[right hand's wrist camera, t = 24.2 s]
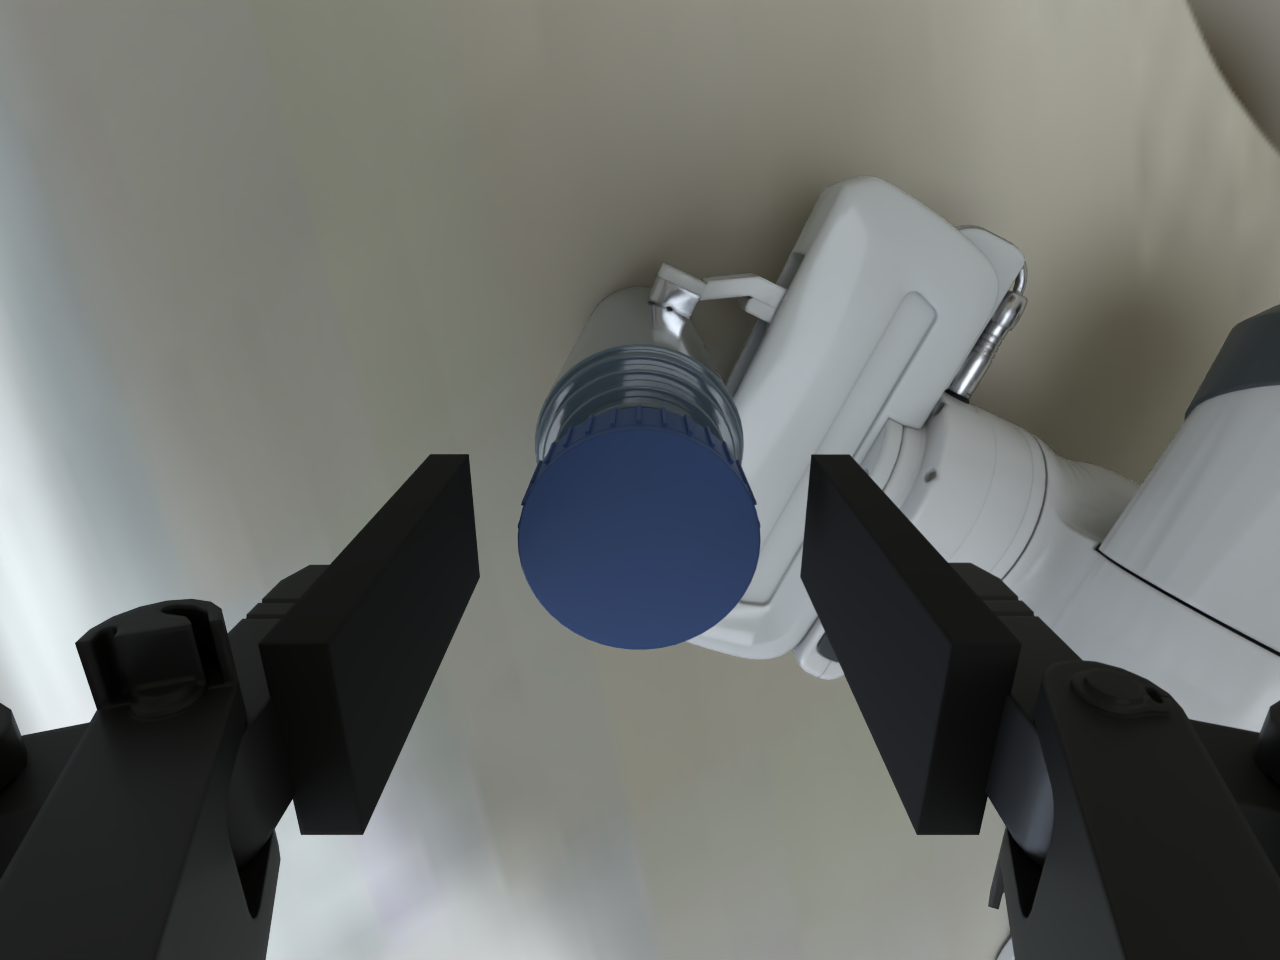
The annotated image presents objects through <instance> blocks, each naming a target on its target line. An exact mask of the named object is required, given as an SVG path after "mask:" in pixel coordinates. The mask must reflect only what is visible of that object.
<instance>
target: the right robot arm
mask: <svg viewBox="0 0 1280 960" xmlns="http://www.w3.org/2000/svg"><path fill="white" fill-rule="evenodd" d="M479 578H480V573H479V562H478V551H477V540H476V529H475V518H474V507H473V496H472V485H471V474H470V463H469V454H430V455H429V456H428V458H427V459H426V460H425V461H424V462H423V463H422V464H421V465H420V466H419V467H418V469H417V470H416V471H415V472H414V473H413V474H412V475H411V476H410V477H409V478H408V480H407V481H406V482H405V483H404V484H403V485H402V486H401V487H400V488H399V489H398V491H397V492H396V493H395V494H394V495H393V496H392V497H391V498H390V499H389V500H388V502H387V503H386V504H385V505H384V506H383V507H382V508H381V509H380V510H379V511H378V513H377V514H376V515H375V516H374V517H373V518H372V519H371V520H370V521H369V522H368V524H367V525H366V526H365V527H364V528H363V529H362V530H361V531H360V532H359V533H358V535H357V536H356V537H355V538H354V539H353V540H352V541H351V542H350V543H349V544H348V546H347V547H346V548H345V549H344V550H343V551H342V552H341V553H340V554H339V555H338V557H337V558H336V559H335V560H334V561H333V562H332V563H331V564H330V565H309V566H307V567H305V568H303V569H301V570H300V571H298V572H296V573H294V574H292V575H290V576H289V577H287V578H285V579H283V580H281V581H280V582H279V583H278V584H277V585H276V586H275V587H274V588H273V589H272V590H271V591H270V592H269V593H268V594H267V595H266V596H265V597H264V598H263V599H262V603H258V604H257V605H256V606H255V607H254V608H253V609H252V610H251V611H250V612H249V613H248V614H247V617H246V619H242V620H241V621H240V622H239V623H238V624H237V625H236V626H235V627H234V628H233V629H232V630H231V631H230V632H229V633H228V634H227V630H226V626H225V622H224V617H223V613H222V609H221V608H219V607H218V606H216V605H215V604H213V603H212V602H209V601H203V600H196V599H184V600H169V601H164V602H159V603H155V604H150V605H146V606H141V607H138V608H135V609H132V610H130V611H127V612H124V613H122V614H119V615H116V616H113V617H111V618H110V619H108V620H106V621H104V622H102V623H101V624H99V625H97V626H95V627H93V628H92V629H90V630H89V631H88V632H87V633H85V634H84V635H83V636H82V637H81V638H80V639H79V640H78V641H77V642H76V643H75V645H76V648H77V651H78V654H79V657H80V660H81V663H82V666H83V669H84V672H85V675H86V678H87V681H88V684H89V687H90V690H91V693H92V696H93V699H94V702H95V705H96V708H97V711H96V713H95V715H94V716H93V718H92V720H91V722H89V723H85V724H80V725H74V726H69V727H64V728H59V729H54V730H49V731H44V732H38V733H33V734H28V735H23V736H21V734H20V731H19V729H18V726H17V724H16V721H15V718H14V716H13V713H12V711H11V709H9V708H8V707H6V706H4V705H3V704H1V703H0V960H266V953H267V946H268V940H269V933H270V926H271V919H272V913H273V906H274V899H275V893H276V886H277V879H278V872H279V866H280V852H279V845H278V841H277V836H276V832H275V827H276V826H277V824H278V822H279V821H280V819H281V817H282V816H283V814H284V812H285V811H286V809H287V807H288V806H289V804H290V802H291V801H292V799H293V802H294V806H295V810H296V815H297V819H298V824H299V828H300V833H301V835H363V834H364V831H365V829H366V827H367V825H368V823H369V820H370V818H371V816H372V814H373V812H374V809H375V807H376V805H377V803H378V800H379V798H380V796H381V794H382V792H383V789H384V787H385V785H386V783H387V781H388V778H389V776H390V774H391V772H392V770H393V767H394V765H395V763H396V761H397V759H398V756H399V754H400V752H401V750H402V748H403V745H404V743H405V741H406V739H407V737H408V734H409V732H410V730H411V728H412V725H413V723H414V721H415V719H416V717H417V714H418V712H419V710H420V708H421V706H422V703H423V701H424V699H425V697H426V695H427V692H428V690H429V688H430V686H431V684H432V681H433V679H434V677H435V675H436V673H437V670H438V668H439V666H440V664H441V662H442V659H443V657H444V655H445V653H446V651H447V648H448V646H449V644H450V642H451V639H452V637H453V635H454V633H455V631H456V628H457V626H458V624H459V622H460V620H461V617H462V615H463V613H464V611H465V609H466V606H467V604H468V602H469V600H470V598H471V595H472V593H473V591H474V589H475V587H476V584H477V582H478V580H479ZM800 578H801V580H802V582H803V584H804V587H805V589H806V591H807V593H808V595H809V598H810V600H811V602H812V604H813V606H814V609H815V611H816V613H817V615H818V617H819V620H820V622H821V624H822V626H823V628H824V631H825V633H826V635H827V637H828V639H829V642H830V644H831V646H832V648H833V651H834V653H835V655H836V657H837V659H838V662H839V664H840V666H841V668H842V670H843V673H844V675H845V677H846V679H847V681H848V684H849V686H850V688H851V690H852V692H853V695H854V697H855V699H856V701H857V703H858V706H859V708H860V710H861V712H862V714H863V717H864V719H865V721H866V723H867V725H868V728H869V730H870V732H871V734H872V737H873V739H874V741H875V743H876V745H877V748H878V750H879V752H880V754H881V756H882V759H883V761H884V763H885V765H886V767H887V770H888V772H889V774H890V776H891V778H892V781H893V783H894V785H895V787H896V789H897V792H898V794H899V796H900V798H901V800H902V803H903V805H904V807H905V809H906V812H907V814H908V816H909V818H910V820H911V823H912V825H913V827H914V829H915V831H916V834H917V835H979V833H980V828H981V824H982V819H983V815H984V810H985V806H986V802H987V797H989V799H990V800H991V802H992V804H993V805H994V807H995V809H996V810H997V812H998V814H999V815H1000V817H1001V819H1002V820H1003V822H1004V823H1005V825H1006V828H1005V832H1004V836H1003V841H1002V845H1001V849H1000V853H999V857H998V861H997V865H996V870H995V874H994V878H993V882H992V886H991V890H990V897H989V904H988V906H989V907H992V908H996V909H999V905H1000V901H1001V897H1002V893H1004V892H1005V897H1006V904H1007V911H1008V918H1009V924H1010V931H1011V938H1012V944H1013V951H1014V958H1015V960H1280V701H1278V702H1276V703H1275V704H1273V705H1272V706H1270V708H1269V711H1268V713H1267V716H1266V718H1265V721H1264V724H1263V726H1262V729H1261V731H1260V733H1259V732H1254V731H1249V730H1244V729H1238V728H1233V727H1228V726H1223V725H1218V724H1212V723H1207V722H1202V721H1197V720H1192V719H1189V718H1188V717H1187V715H1186V713H1185V711H1184V710H1183V708H1182V707H1181V706H1180V705H1179V704H1178V703H1177V702H1176V700H1175V699H1174V698H1173V697H1172V696H1171V695H1170V694H1169V693H1168V692H1166V691H1165V690H1163V689H1162V688H1160V687H1159V686H1157V685H1156V684H1154V683H1153V682H1151V681H1150V680H1148V679H1146V678H1143V677H1141V676H1139V675H1137V674H1134V673H1132V672H1130V671H1127V670H1125V669H1123V668H1119V667H1115V666H1111V665H1108V664H1104V663H1100V662H1096V661H1084V660H1082V659H1081V658H1080V657H1079V656H1078V655H1077V654H1076V653H1075V652H1074V651H1073V650H1072V649H1071V648H1070V647H1069V646H1068V645H1067V644H1066V643H1065V642H1064V641H1063V640H1062V639H1061V638H1060V637H1059V636H1058V635H1057V634H1056V633H1055V632H1054V631H1053V630H1052V629H1051V628H1050V627H1049V626H1048V625H1047V624H1045V623H1044V622H1043V621H1042V620H1041V619H1040V618H1039V617H1038V616H1034V612H1033V611H1032V610H1031V609H1030V608H1029V607H1028V606H1027V605H1026V604H1025V603H1024V602H1023V601H1022V600H1018V596H1017V595H1016V594H1015V593H1014V592H1013V591H1012V590H1011V589H1010V588H1009V587H1008V586H1007V585H1006V584H1005V583H1004V582H1003V581H1002V580H1001V579H1000V578H998V577H996V576H994V575H993V574H991V573H989V572H987V571H985V570H983V569H982V568H980V567H978V566H976V565H974V564H972V563H948V562H947V561H946V560H945V559H944V558H943V557H942V555H941V554H940V553H939V552H938V551H937V550H936V549H935V548H934V547H933V546H932V544H931V543H930V542H929V541H928V540H927V539H926V538H925V537H924V536H923V535H922V533H921V532H920V531H919V530H918V529H917V528H916V527H915V526H914V525H913V524H912V522H911V521H910V520H909V519H908V518H907V517H906V516H905V515H904V514H903V513H902V511H901V510H900V509H899V508H898V507H897V506H896V505H895V504H894V503H893V502H892V500H891V499H890V498H889V497H888V496H887V495H886V494H885V493H884V492H883V491H882V489H881V488H880V487H879V486H878V485H877V484H876V483H875V482H874V481H873V480H872V478H871V477H870V476H869V475H868V474H867V473H866V472H865V471H864V470H863V469H862V467H861V466H860V465H859V464H858V463H857V462H856V461H855V460H854V459H853V458H852V456H851V455H850V454H811V463H810V474H809V485H808V496H807V507H806V518H805V529H804V540H803V551H802V562H801V573H800Z"/></svg>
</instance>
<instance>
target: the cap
mask: <svg viewBox="0 0 1280 960" xmlns="http://www.w3.org/2000/svg"><path fill="white" fill-rule="evenodd" d="M521 505H523V509H522V513H521V517H520V521H519V523H518V528H519V530H518V551H519V557H520V562H521V566H522V569H523V572H524V575H525V578H526V580H527V582H528V584H529V586H530V588H531V590H532V592H533V593H534V595H535V596H536V598H537V599H538V600H539V602H540V603H541V605H542V606H543V607H544V608H545V609H546V610H547V611H548V612H549V613H550V615H552V616H553V617H554V618H555V619H556V620H557V621H559V622H560V623H561V624H562V625H564V626H565V627H567V628H568V629H570V630H571V631H573V632H574V633H576V634H578V635H580V636H582V637H584V638H586V639H589V640H591V641H594V642H597V643H600V644H603V645H607V646H611V647H616V648H624V649H655V648H662V647H667V646H671V645H676V644H679V643H681V642H684V641H687V640H690V639H692V638H694V637H696V636H698V635H700V634H702V633H704V632H706V631H707V630H709V629H710V628H712V627H713V626H715V625H716V624H717V623H719V622H720V621H721V620H722V619H724V618H725V617H726V616H727V615H728V614H729V613H730V612H731V611H732V610H733V609H734V607H735V606H736V605H737V604H738V602H739V601H740V600H741V598H742V597H743V596H744V594H745V592H746V590H747V589H748V587H749V585H750V583H751V581H752V578H753V576H754V573H755V571H756V568H757V563H758V559H759V554H760V542H761V538H760V527H761V526H760V522H759V519H758V515H757V511H756V508H755V506H754V505H757V502H756V500H755V497H754V495H753V492H752V490H751V488H750V485H749V483H748V480H747V478H746V476H745V473H744V471H743V469H742V466H741V464H740V462H739V460H736V461H735V459H734V457H733V456H732V455H731V453H730V450H729V448H728V445H727V443H726V442H725V441H724V442H721V441H720V440H719V439H718V438H717V437H716V436H715V435H713V434H712V433H711V430H710V428H709V427H708V426H706V427H705V428H704V427H703V426H701V425H699V424H698V423H696V422H694V421H693V420H691V419H690V418H689V415H687V414H685V415H684V416H681V415H679V414H676V413H672V412H669V411H666V408H664V407H661V410H660V409H652V408H641V405H637V408H627V409H618V410H617V407H614V408H612V411H610V412H606V413H603V414H600V415H597V416H595V417H594V415H593V414H592V415H590V416H589V418H588V420H586V421H584V422H582V423H581V424H579V425H577V426H576V427H574V428H573V427H572V426H571V427H569V428H568V431H567V433H566V434H565V435H564V436H563V437H562V438H561V439H560V440H559V441H558V442H557V443H555V442H553V443H552V444H551V446H550V449H549V451H548V454H547V455H546V457H545V458H544V460H543V461H542V460H540V461H539V463H538V465H537V467H536V470H535V472H534V474H533V477H532V479H531V481H530V484H529V487H528V489H527V491H526V494H525V496H524V498H523V501H522V504H521Z"/></svg>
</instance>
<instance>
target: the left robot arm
mask: <svg viewBox="0 0 1280 960" xmlns="http://www.w3.org/2000/svg"><path fill="white" fill-rule="evenodd" d="M1014 280H1015V284H1014V287H1013V291H1010V290H1009V288H1010V287H1011V285H1012V283H1013V282H1014ZM1026 282H1027V267H1026V262H1025V258H1024V255H1023V254H1022V253H1021V251H1020V250H1019V249H1018V248H1017V247H1016V246H1015V245H1014V244H1012V243H1011V242H1009V241H1007V240H1005V239H1003V238H1002V237H1000V236H998V235H996V234H994V233H992V232H990V231H988V230H986V229H984V228H982V227H979V226H973V225H962V226H958V227H954V226H953V225H951V224H950V223H949V222H947V221H946V220H945V219H943V218H942V217H941V216H939V215H938V214H937V213H935V212H934V211H933V210H931V209H930V208H928V207H927V206H925V205H924V204H922V203H921V202H919V201H918V200H916V199H915V198H913V197H912V196H910V195H909V194H907V193H905V192H904V191H902V190H901V189H899V188H897V187H896V186H894V185H892V184H890V183H888V182H887V181H885V180H883V179H881V178H878V177H874V176H857V177H852V178H849V179H846V180H843V181H840V182H838V183H836V184H833V185H831V186H829V187H827V188H826V189H824V191H823V192H822V193H821V195H820V196H819V198H818V200H817V202H816V204H815V206H814V208H813V210H812V212H811V214H810V216H809V218H808V220H807V222H806V224H805V226H804V228H803V230H802V232H801V234H800V236H799V238H798V240H797V242H796V244H795V246H794V248H793V250H792V252H791V254H790V256H789V258H788V260H787V262H786V264H785V266H784V268H783V270H782V272H781V274H780V276H779V278H778V280H777V282H776V284H774V283H772V282H770V281H768V280H766V279H764V278H762V277H760V276H757V275H755V274H753V273H745V274H735V275H726V276H717V277H707V278H704V279H703V280H700V279H698V278H696V277H694V276H691V275H689V274H687V273H685V272H683V271H681V270H679V269H677V268H675V267H673V266H670V265H668V264H665V263H662V265H661V267H660V270H659V272H658V274H657V276H656V279H655V281H654V283H653V286H652V288H651V291H650V293H649V295H648V299H649V300H650V301H652V302H654V303H656V304H658V305H661V306H664V307H667V306H671V308H672V309H673V311H675V312H676V313H678V314H679V315H681V316H684V317H686V318H688V319H690V317H691V315H692V313H693V311H694V309H695V306H696V304H697V302H698V300H711V299H722V298H733V297H740V299H739V301H738V305H739V306H740V307H741V308H742V309H743V310H745V311H746V312H748V313H750V314H752V315H754V316H756V317H758V320H757V322H756V324H755V326H754V328H753V330H752V332H751V334H750V336H749V338H748V340H747V342H746V344H745V346H744V348H743V350H742V352H741V354H740V356H739V358H738V360H737V362H736V364H735V366H734V368H733V370H732V372H731V374H730V376H729V378H728V380H727V382H726V384H725V385H726V387H727V389H728V391H729V393H730V395H731V397H732V399H733V401H734V403H735V405H736V407H737V409H738V413H739V416H740V419H741V423H742V428H743V437H744V450H743V460H742V469H743V471H744V473H745V476H746V478H747V480H748V483H749V485H750V488H751V490H752V492H753V495H754V497H755V500H756V502H757V505H754V506H755V508H756V511H757V515H758V519H759V522H760V526H761V527H760V538H761V542H760V554H759V559H758V563H757V568H756V571H755V573H754V576H753V578H752V581H751V583H750V585H749V587H748V589H747V590H746V592H745V594H744V596H743V597H742V598H741V600H740V601H739V602H738V604H737V605H736V606H735V607H734V609H733V610H732V611H731V612H730V613H729V614H728V615H727V616H726V617H725V618H724V619H722V620H721V621H720V622H719V623H717V624H716V625H715V626H713V627H712V628H710V629H709V630H707V631H706V632H704V633H702V634H700V635H698V636H696V637H694V638H692V639H690V640H687V641H686V642H689V643H692V644H695V645H698V646H701V647H704V648H708V649H711V650H714V651H718V652H721V653H725V654H729V655H733V656H737V657H741V658H747V659H756V660H763V659H772V658H776V657H779V656H782V655H784V654H786V653H787V652H789V651H791V650H792V652H793V654H794V656H795V657H796V659H797V661H798V663H799V664H800V666H801V667H802V669H803V670H805V671H806V672H808V673H809V674H811V675H813V676H816V677H818V678H821V679H826V680H833V679H837V678H839V677H841V676H843V675H844V673H843V670H842V668H841V666H840V664H839V662H838V659H837V657H836V655H835V653H834V651H833V648H832V646H831V644H830V642H829V639H828V637H827V635H826V633H825V631H824V628H823V626H822V624H821V622H820V620H819V617H818V615H817V613H816V611H815V609H814V606H813V604H812V602H811V600H810V598H809V595H808V593H807V591H806V589H805V587H804V584H803V582H802V580H801V578H800V573H801V562H802V551H803V540H804V529H805V518H806V507H807V496H808V485H809V474H810V463H811V454H850V455H851V456H852V458H853V459H854V460H855V461H856V462H857V463H858V464H859V465H860V466H861V467H862V469H863V470H864V471H865V472H866V473H867V474H868V475H869V476H870V477H871V478H872V480H873V481H874V482H875V483H876V484H877V485H878V486H879V487H880V488H881V489H882V491H883V492H884V493H885V494H886V495H887V496H888V497H889V498H890V499H891V500H892V502H893V503H894V504H895V505H896V506H897V507H898V508H899V509H900V510H901V511H902V513H903V514H904V515H905V516H906V517H907V518H908V519H909V520H910V521H911V522H912V524H913V525H914V526H915V527H916V528H917V529H918V530H919V531H920V532H921V533H922V535H923V536H924V537H925V538H926V539H927V540H928V541H929V542H930V543H931V544H932V546H933V547H934V548H935V549H936V550H937V551H938V552H939V553H940V554H941V555H942V557H943V558H944V559H945V560H946V561H947V562H948V563H972V564H974V565H976V566H978V567H980V568H982V569H983V570H985V571H987V572H989V573H991V574H993V575H994V576H996V577H998V578H1000V579H1001V580H1002V581H1003V582H1004V583H1005V584H1006V585H1007V586H1008V587H1009V588H1010V589H1011V590H1012V591H1013V592H1014V593H1015V594H1016V595H1017V596H1018V600H1022V601H1023V602H1024V603H1025V604H1026V605H1027V606H1028V607H1029V608H1030V609H1031V610H1032V611H1033V612H1034V616H1038V617H1039V618H1040V619H1041V620H1042V621H1043V622H1044V623H1045V624H1047V625H1048V626H1049V627H1050V628H1051V629H1052V630H1053V631H1054V632H1055V633H1056V634H1057V635H1058V636H1059V637H1060V638H1061V639H1062V640H1063V641H1064V642H1065V643H1066V644H1067V645H1068V646H1069V647H1070V648H1071V649H1072V650H1073V651H1074V652H1075V653H1076V654H1077V655H1078V656H1079V657H1080V658H1081V659H1082V660H1084V661H1096V662H1100V663H1104V664H1108V665H1111V666H1115V667H1119V668H1123V669H1125V670H1127V671H1130V672H1132V673H1134V674H1137V675H1139V676H1141V677H1143V678H1146V679H1148V680H1150V681H1151V682H1153V683H1154V684H1156V685H1157V686H1159V687H1160V688H1162V689H1163V690H1165V691H1166V692H1168V693H1169V694H1170V695H1171V696H1172V697H1173V698H1174V699H1175V700H1176V702H1177V703H1178V704H1179V705H1180V706H1181V707H1182V708H1183V710H1184V711H1185V713H1186V715H1187V717H1188V718H1189V719H1192V720H1197V721H1202V722H1207V723H1212V724H1218V725H1223V726H1228V727H1233V728H1238V729H1244V730H1249V731H1254V732H1259V733H1260V731H1261V729H1262V726H1263V724H1264V721H1265V718H1266V716H1267V713H1268V711H1269V708H1270V706H1272V705H1273V704H1275V703H1276V702H1278V701H1280V304H1279V305H1277V306H1275V307H1272V308H1270V309H1268V310H1266V311H1264V312H1262V313H1259V314H1257V315H1255V316H1253V317H1251V318H1249V319H1246V320H1244V321H1242V322H1240V323H1239V324H1237V325H1236V326H1235V327H1234V328H1233V329H1232V330H1231V332H1230V334H1229V335H1228V337H1227V339H1226V341H1225V343H1224V344H1223V346H1222V348H1221V350H1220V352H1219V354H1218V355H1217V357H1216V359H1215V361H1214V363H1213V364H1212V366H1211V368H1210V370H1209V372H1208V373H1207V375H1206V377H1205V379H1204V381H1203V382H1202V384H1201V386H1200V388H1199V390H1198V391H1197V393H1196V395H1195V397H1194V399H1193V400H1192V402H1191V404H1190V406H1189V408H1188V409H1187V411H1186V413H1185V422H1184V423H1183V425H1182V426H1181V428H1180V429H1179V430H1178V432H1177V433H1176V435H1175V436H1174V438H1173V439H1172V441H1171V442H1170V444H1169V445H1168V446H1167V448H1166V449H1165V451H1164V452H1163V454H1162V455H1161V457H1160V458H1159V460H1158V461H1157V463H1156V464H1155V465H1154V467H1153V468H1152V470H1151V471H1150V473H1149V474H1148V476H1147V477H1146V479H1145V480H1144V482H1143V483H1142V484H1141V485H1139V484H1137V483H1135V482H1133V481H1131V480H1129V479H1127V478H1125V477H1123V476H1121V475H1119V474H1117V473H1115V472H1113V471H1111V470H1109V469H1106V468H1104V467H1101V466H1098V465H1094V464H1090V463H1085V462H1077V461H1070V460H1067V459H1064V458H1062V457H1060V456H1058V455H1056V454H1055V453H1054V452H1053V451H1052V450H1051V449H1050V448H1049V447H1048V446H1047V445H1046V444H1045V443H1044V442H1043V441H1042V440H1041V439H1039V438H1038V437H1037V436H1035V435H1034V434H1032V433H1030V432H1029V431H1027V430H1025V429H1023V428H1021V427H1019V426H1016V425H1014V424H1012V423H1010V422H1008V421H1006V420H1004V419H1002V418H1000V417H998V416H996V415H993V414H991V413H989V412H987V411H985V410H983V409H981V408H979V407H976V406H974V405H972V404H970V402H969V401H968V400H969V399H970V397H971V395H972V394H973V392H974V391H975V389H976V388H977V386H978V384H979V383H980V381H981V379H982V378H983V376H984V375H985V373H986V371H987V370H988V368H989V366H990V364H991V363H992V359H993V358H994V356H995V353H996V352H997V350H998V346H1000V344H1001V343H1002V340H1003V339H1004V338H1005V336H1006V335H1007V333H1008V332H1009V330H1010V331H1011V330H1012V329H1013V328H1014V327H1015V325H1016V324H1017V322H1018V321H1019V319H1020V317H1021V316H1022V314H1023V312H1024V309H1025V307H1026V304H1027V301H1028V300H1027V298H1026V297H1024V296H1022V295H1023V293H1024V290H1025V286H1026ZM945 389H946V390H945ZM997 960H1015V958H1014V951H1013V944H1012V938H1010V940H1009V941H1008V942H1007V944H1006V945H1005V947H1004V948H1003V950H1002V951H1001V953H1000V954H999V956H998V958H997Z"/></svg>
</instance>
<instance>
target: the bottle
mask: <svg viewBox="0 0 1280 960" xmlns="http://www.w3.org/2000/svg"><path fill="white" fill-rule="evenodd" d="M650 291H651V288H650V287H639V286H638V287H629V288H625V289H622V290H619V291H616V292H615V293H613V294H611V295H609V296H608V297H606V298H605V299H604V300H603V301H602V302H601V303H600V304H599V305H598V306H597V307H596V308H595V310H594V311H593V313H592V314H591V316H590V318H589V320H588V321H587V323H586V325H585V327H584V329H583V331H582V333H581V334H580V336H579V338H578V340H577V342H576V344H575V346H574V348H573V349H572V351H571V353H570V355H569V357H568V359H567V361H566V362H565V364H564V366H563V368H562V370H561V372H560V374H559V376H558V377H557V379H556V381H555V383H554V385H553V387H552V389H551V390H550V392H549V394H548V396H547V398H546V400H545V402H544V404H543V407H542V409H541V412H540V415H539V418H538V422H537V427H536V435H535V453H536V460H537V465H538V463H539V461H540V460H542V461H543V460H544V458H545V457H546V455H547V454H548V451H549V449H550V446H551V444H552V443H553V442H555V443H557V442H558V441H559V440H560V439H561V438H562V437H563V436H564V435H565V434H566V433H567V431H568V428H569V427H571V426H572V427H573V428H574V427H576V426H577V425H579V424H581V423H582V422H584V421H586V420H588V418H589V416H590V415H592V414H593V415H594V417H595V416H597V415H600V414H603V413H606V412H610V411H612V408H614V407H617V410H618V409H627V408H637V405H641V408H652V409H660V410H661V407H664V408H666V411H669V412H672V413H676V414H679V415H681V416H684V415H685V414H687V415H689V418H690V419H691V420H693V421H694V422H696V423H698V424H699V425H701V426H703V427H704V428H705V427H706V426H708V427H709V428H710V430H711V433H712V434H713V435H715V436H716V437H717V438H718V439H719V440H720V441H721V442H724V441H725V442H726V443H727V445H728V448H729V450H730V453H731V455H732V456H733V457H734V459H735V461H736V460H739V462H740V464H741V466H742V460H743V450H744V437H743V428H742V423H741V419H740V416H739V413H738V409H737V407H736V405H735V403H734V401H733V399H732V397H731V395H730V393H729V391H728V389H727V387H726V385H725V383H724V381H723V380H722V378H721V376H720V374H719V372H718V370H717V368H716V366H715V364H714V363H713V361H712V359H711V357H710V355H709V353H708V351H707V349H706V347H705V346H704V344H703V342H702V340H701V338H700V336H699V334H698V332H697V330H696V329H695V327H694V325H693V323H692V321H691V319H688V318H686V317H684V316H681V315H679V314H678V313H676V312H675V311H673V309H672V308H671V306H667V307H664V306H661V305H658V304H656V303H654V302H652V301H650V300H649V299H648V295H649V293H650Z"/></svg>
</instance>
